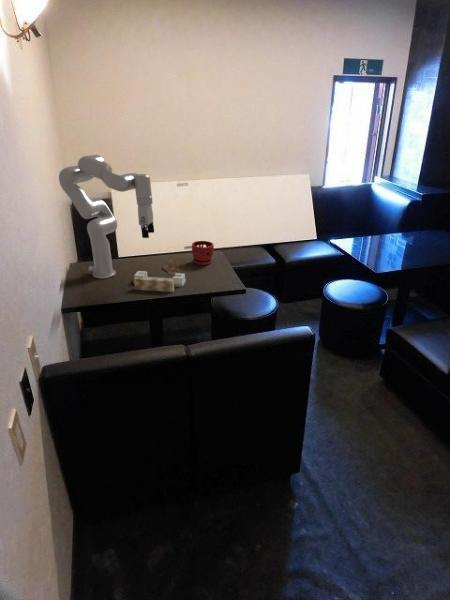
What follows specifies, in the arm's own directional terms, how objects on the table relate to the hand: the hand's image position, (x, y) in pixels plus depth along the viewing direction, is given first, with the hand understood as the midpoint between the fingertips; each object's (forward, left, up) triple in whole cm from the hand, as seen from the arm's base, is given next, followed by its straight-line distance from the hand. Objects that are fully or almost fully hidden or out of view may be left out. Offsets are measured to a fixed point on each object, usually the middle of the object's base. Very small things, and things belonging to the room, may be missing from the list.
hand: (148, 235), depth 205 cm
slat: (+3, -7, -27) cm, 28 cm away
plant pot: (+20, +37, -27) cm, 50 cm away
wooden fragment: (+3, +27, -27) cm, 39 cm away
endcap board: (+3, +3, -27) cm, 27 cm away
